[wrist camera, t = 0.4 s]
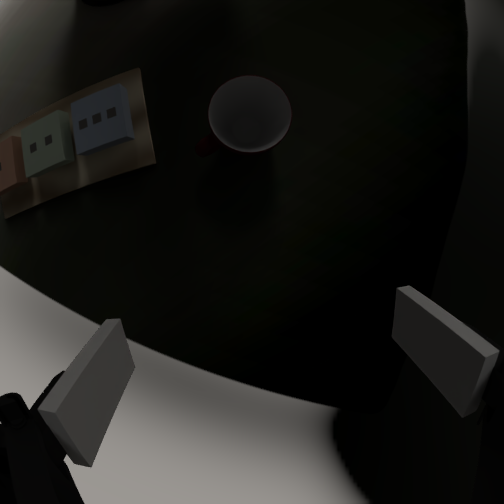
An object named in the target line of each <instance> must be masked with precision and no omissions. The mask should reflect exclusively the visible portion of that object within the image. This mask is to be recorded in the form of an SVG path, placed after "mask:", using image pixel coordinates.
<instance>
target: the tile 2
mask: <svg viewBox="0 0 504 504" xmlns="http://www.w3.org/2000/svg"><path fill="white" fill-rule="evenodd" d="M21 140H22V150H23V159H24V166H25V173H26V178H32V177H39V176H41V175H43V174H46V173H48V172H50V171H52V170H54V169H57V168H59V167H61V166H64V165H66V164H68V163H71V162H73V161H75V158H74V152H73V145H72V138H71V130H70V121H69V113H67V112H64V111H61V110H56V111H54V112H52V113H51V114H49V115H47V116H45V117H43V118H41V119H39V120H37V121H36V122H34V123H32V124H30V125H29V126H27V127H25V128H23V129H22V130H21Z"/></svg>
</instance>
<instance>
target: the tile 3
mask: <svg viewBox="0 0 504 504" xmlns="http://www.w3.org/2000/svg"><path fill="white" fill-rule="evenodd" d="M71 113H72V122H73V131H74V138H75V145H76V152H77V155H84V156H88V155H91V154H93V153H96V152H99V151H101V150H104V149H107V148H110V147H112V146H115V145H118V144H121V143H124V142H127V141H130V140H133V139H135V137H134V131H133V125H132V119H131V113H130V107H129V100H128V93H127V89H126V88H125V87H124V86H122V85H121V84H120V83H118V84H116V85H113V86H111V87H108V88H105V89H103V90H100V91H98V92H96V93H93V94H91V95H89V96H86V97H84V98H82V99H79V100H77V101H75V102H73V103H71Z"/></svg>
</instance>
